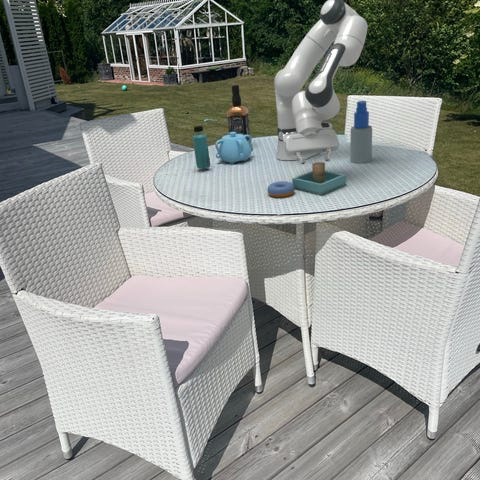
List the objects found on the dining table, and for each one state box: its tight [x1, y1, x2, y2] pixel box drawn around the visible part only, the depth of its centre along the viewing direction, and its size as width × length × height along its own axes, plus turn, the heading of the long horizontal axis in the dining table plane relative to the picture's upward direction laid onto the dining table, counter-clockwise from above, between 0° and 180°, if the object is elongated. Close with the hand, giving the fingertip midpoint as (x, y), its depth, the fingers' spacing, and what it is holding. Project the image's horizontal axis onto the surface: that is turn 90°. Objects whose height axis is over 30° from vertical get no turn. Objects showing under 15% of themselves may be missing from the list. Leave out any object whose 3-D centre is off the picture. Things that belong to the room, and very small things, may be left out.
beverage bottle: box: [192, 125, 211, 170], centre depth 202 cm, size 6×7×20 cm
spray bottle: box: [349, 100, 373, 165], centre depth 190 cm, size 9×9×25 cm
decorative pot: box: [214, 132, 254, 165], centre depth 214 cm, size 16×16×14 cm
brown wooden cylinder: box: [312, 161, 326, 184], centre depth 166 cm, size 4×4×8 cm
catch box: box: [291, 170, 347, 196], centre depth 168 cm, size 14×14×4 cm
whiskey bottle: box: [226, 84, 253, 147], centre depth 232 cm, size 10×10×32 cm
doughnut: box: [267, 180, 295, 199], centre depth 165 cm, size 10×10×5 cm
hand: (315, 162), depth 166 cm, fingers open, 8 cm apart
